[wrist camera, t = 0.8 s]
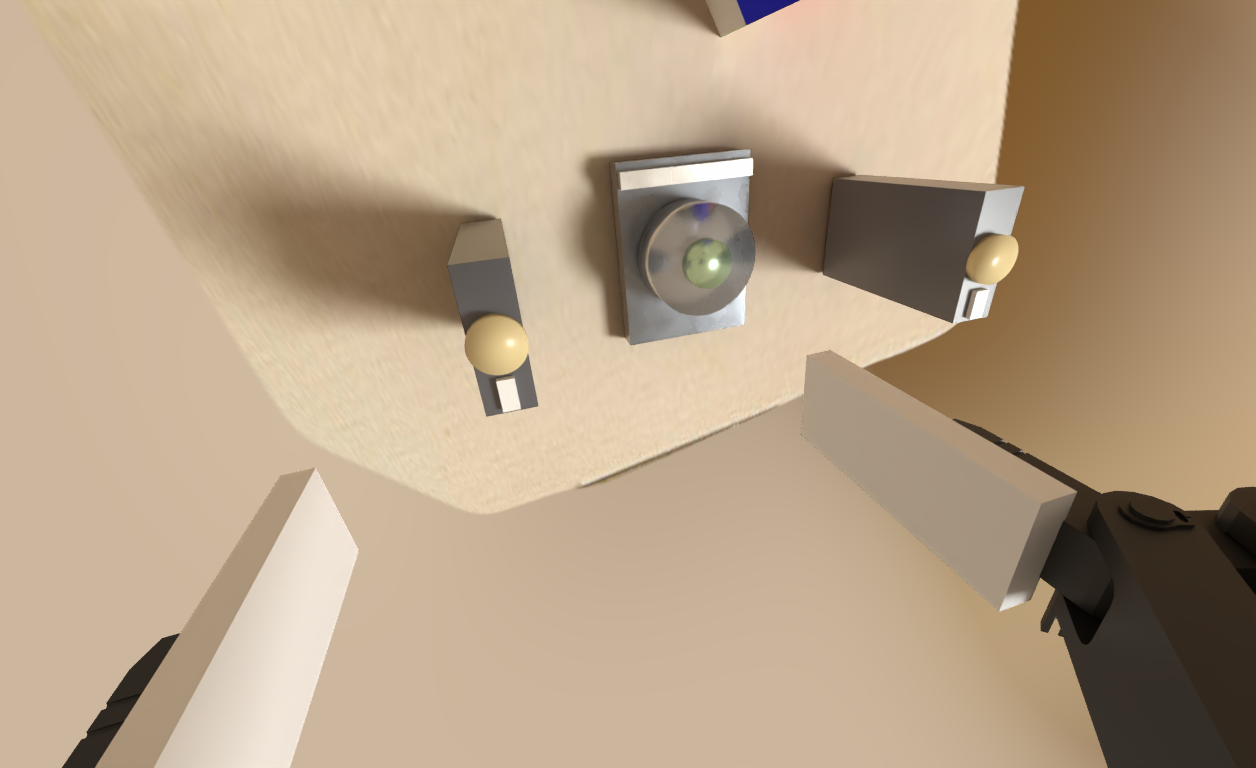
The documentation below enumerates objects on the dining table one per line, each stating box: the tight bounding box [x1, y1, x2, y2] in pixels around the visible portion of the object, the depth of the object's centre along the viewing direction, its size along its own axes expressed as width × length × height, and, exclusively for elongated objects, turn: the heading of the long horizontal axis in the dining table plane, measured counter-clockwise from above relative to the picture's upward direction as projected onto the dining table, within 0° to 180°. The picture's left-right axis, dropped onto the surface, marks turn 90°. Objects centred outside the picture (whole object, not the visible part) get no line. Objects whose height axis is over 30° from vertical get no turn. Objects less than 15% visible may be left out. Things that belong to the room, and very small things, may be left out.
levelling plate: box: [610, 149, 755, 345], centre depth 31 cm, size 12×9×5 cm
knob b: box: [823, 175, 1024, 323], centre depth 30 cm, size 7×3×13 cm, turn 5°
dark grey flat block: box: [447, 219, 538, 417], centre depth 25 cm, size 7×3×13 cm, turn 5°
